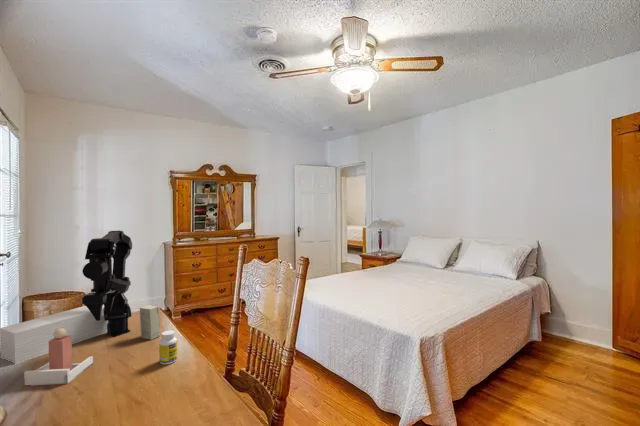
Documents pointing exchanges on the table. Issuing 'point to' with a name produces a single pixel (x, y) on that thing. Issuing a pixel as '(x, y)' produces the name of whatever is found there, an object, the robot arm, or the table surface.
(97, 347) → the table surface
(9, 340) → the ridged white long block
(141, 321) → the skincare box
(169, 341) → the supplement bottle
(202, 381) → the table surface
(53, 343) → the foosball player
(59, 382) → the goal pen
